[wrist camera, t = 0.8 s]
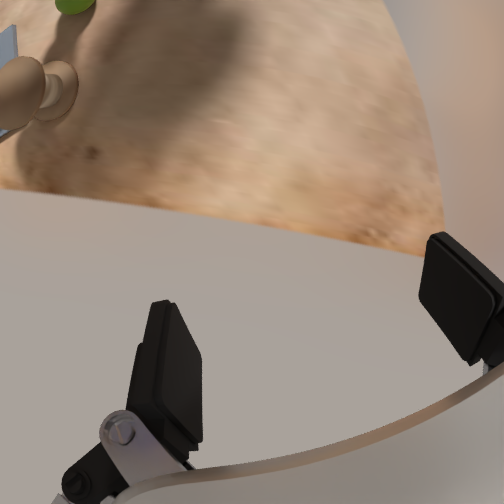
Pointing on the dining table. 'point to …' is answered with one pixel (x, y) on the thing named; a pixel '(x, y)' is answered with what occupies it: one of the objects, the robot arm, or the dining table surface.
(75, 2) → the snail figurine
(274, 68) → the dining table surface
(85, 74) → the dining table surface
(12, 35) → the grey walled base plate
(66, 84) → the bobbin
